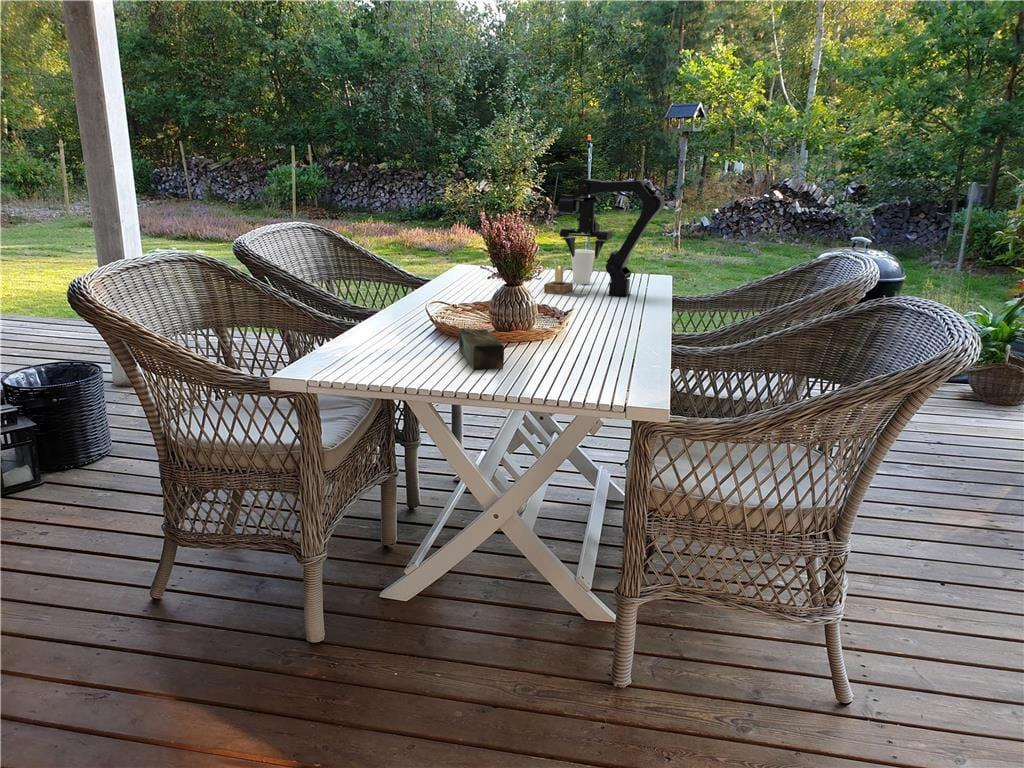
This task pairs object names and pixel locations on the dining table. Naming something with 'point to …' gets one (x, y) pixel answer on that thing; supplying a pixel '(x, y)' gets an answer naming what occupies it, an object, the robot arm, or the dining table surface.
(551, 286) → the socket block
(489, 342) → the beverage carton
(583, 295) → the mat
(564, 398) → the dining table surface
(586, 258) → the foam cup
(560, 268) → the pin
